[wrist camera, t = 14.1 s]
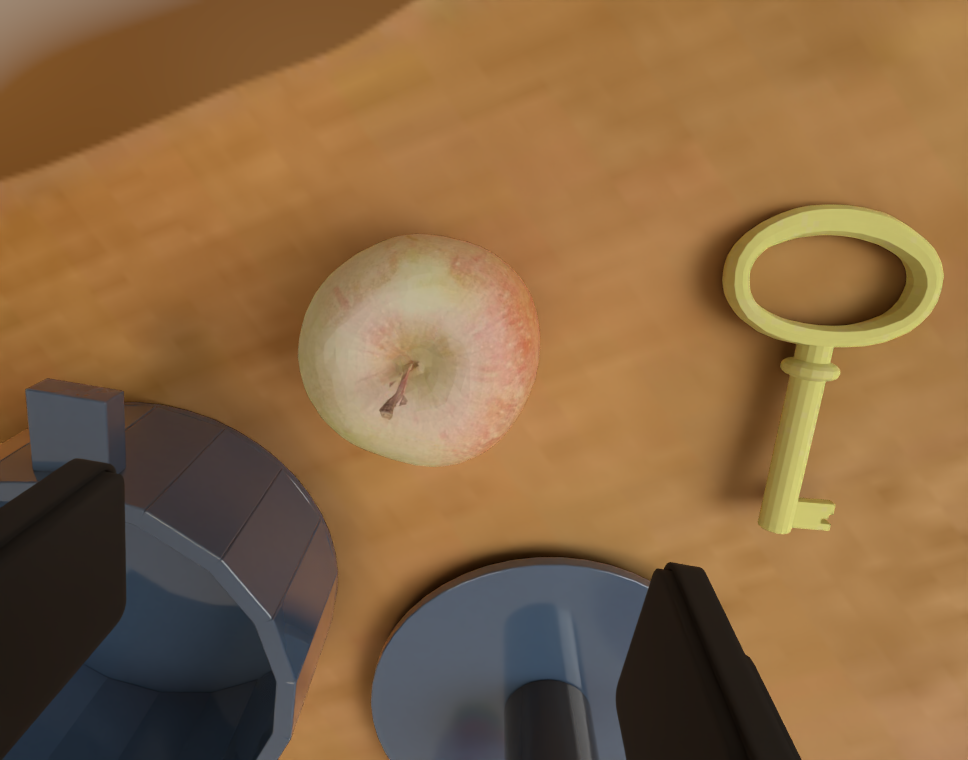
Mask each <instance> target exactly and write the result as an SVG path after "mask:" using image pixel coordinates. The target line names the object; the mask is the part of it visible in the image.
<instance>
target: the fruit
mask: <svg viewBox="0 0 968 760" xmlns="http://www.w3.org/2000/svg"><path fill="white" fill-rule="evenodd" d="M539 354H540V328H539V322H538V317H537V312H536V309H535V305H534V302H533V299H532V297H531V295H530V293H529V291H528V289H527V287H526V286H525V284H524V282H523V281H522V279H521V278H520V277H519V275H518V274H517V273H516V272H515V271H514V270H513V269H512V268H511V267H510V266H509V265H508V264H507V263H505V262H504V261H503V260H502V259H501V258H499V257H498V256H496V255H495V254H493V253H492V252H490V251H488V250H486V249H484V248H482V247H480V246H478V245H475V244H472V243H469V242H466V241H462V240H458V239H453V238H449V237H445V236H438V235H429V234H410V235H401V236H396V237H393V238H390V239H387V240H384V241H382V242H379V243H377V244H375V245H373V246H371V247H369V248H367V249H365V250H363V251H361V252H358V253H357V254H356V255H354V256H353V257H351V258H350V259H348V260H347V261H346V262H345V263H343V264H342V265H341V266H339V267H338V268H337V269H336V270H335V271H334V272H332V273H331V274H330V275H329V276H328V278H327V279H326V280H325V281H324V282H323V283H322V285H321V286H320V287H319V289H318V290H317V292H316V293H315V295H314V297H313V299H312V300H311V302H310V305H309V307H308V309H307V311H306V313H305V317H304V320H303V324H302V328H301V332H300V337H299V346H298V361H299V368H300V373H301V377H302V380H303V384H304V387H305V390H306V392H307V395H308V397H309V399H310V400H311V402H312V403H313V405H314V407H315V408H316V410H317V411H318V413H319V414H320V416H321V418H322V419H323V420H324V421H325V422H326V423H327V424H328V425H329V426H330V427H331V428H332V429H333V430H334V431H336V432H337V433H338V434H339V435H340V436H342V437H343V438H344V439H346V440H347V441H349V442H350V443H352V444H354V445H356V446H358V447H360V448H362V449H364V450H367V451H370V452H373V453H375V454H378V455H381V456H384V457H386V458H390V459H393V460H397V461H401V462H404V463H408V464H413V465H417V466H429V467H440V466H449V465H454V464H459V463H462V462H464V461H466V460H469V459H471V458H474V457H476V456H478V455H480V454H482V453H484V452H486V451H487V450H489V449H490V448H491V447H493V446H494V445H495V444H496V443H497V442H499V440H500V439H501V438H502V437H503V436H504V435H505V434H506V433H507V432H508V430H509V429H510V427H511V426H512V425H513V423H514V422H515V420H516V419H517V418H518V416H519V414H520V412H521V410H522V409H523V407H524V405H525V403H526V401H527V399H528V396H529V394H530V392H531V389H532V387H533V384H534V381H535V379H536V373H537V368H538V363H539Z"/></svg>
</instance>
